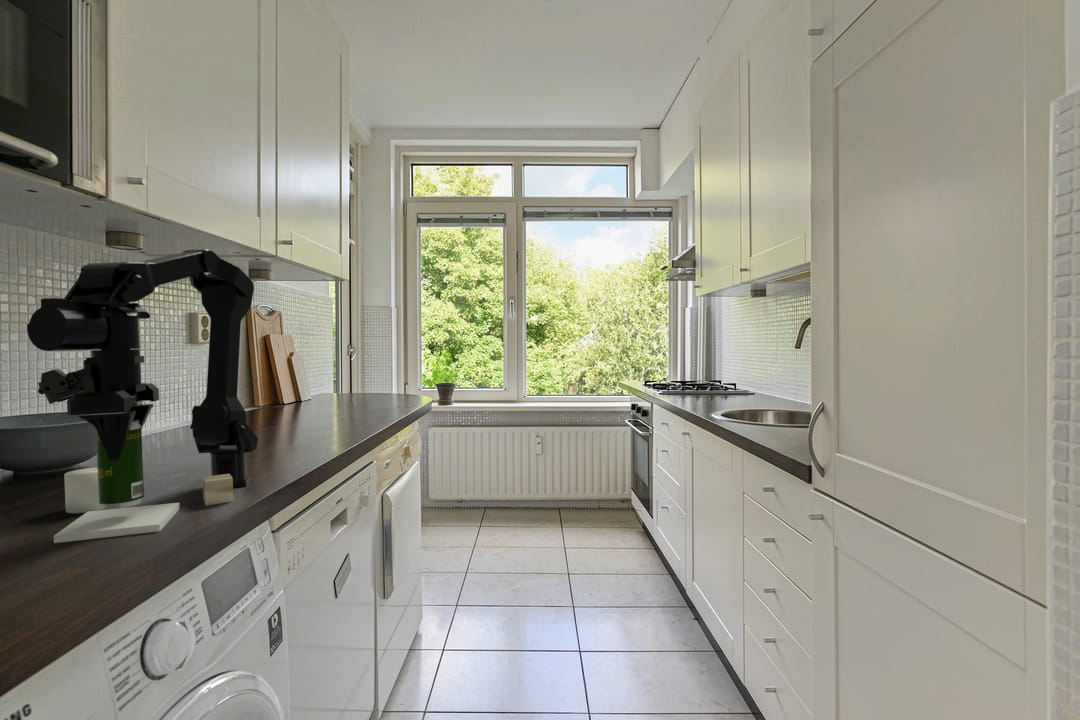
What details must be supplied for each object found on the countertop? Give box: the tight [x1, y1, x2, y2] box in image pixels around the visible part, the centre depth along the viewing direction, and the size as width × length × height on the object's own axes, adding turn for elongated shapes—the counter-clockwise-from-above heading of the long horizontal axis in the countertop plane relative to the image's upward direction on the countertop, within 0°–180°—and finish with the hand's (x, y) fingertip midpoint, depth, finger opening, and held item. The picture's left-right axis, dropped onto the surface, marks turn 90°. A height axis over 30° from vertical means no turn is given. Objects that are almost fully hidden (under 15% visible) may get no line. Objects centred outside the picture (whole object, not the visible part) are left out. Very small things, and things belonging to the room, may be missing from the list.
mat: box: [53, 502, 181, 544], centre depth 84 cm, size 12×12×1 cm
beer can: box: [95, 420, 145, 510], centre depth 84 cm, size 5×5×12 cm
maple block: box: [202, 474, 234, 506], centre depth 96 cm, size 4×4×4 cm
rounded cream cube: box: [63, 467, 106, 514], centre depth 93 cm, size 6×6×6 cm
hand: (120, 456), depth 84 cm, fingers closed on beer can, 5 cm apart
